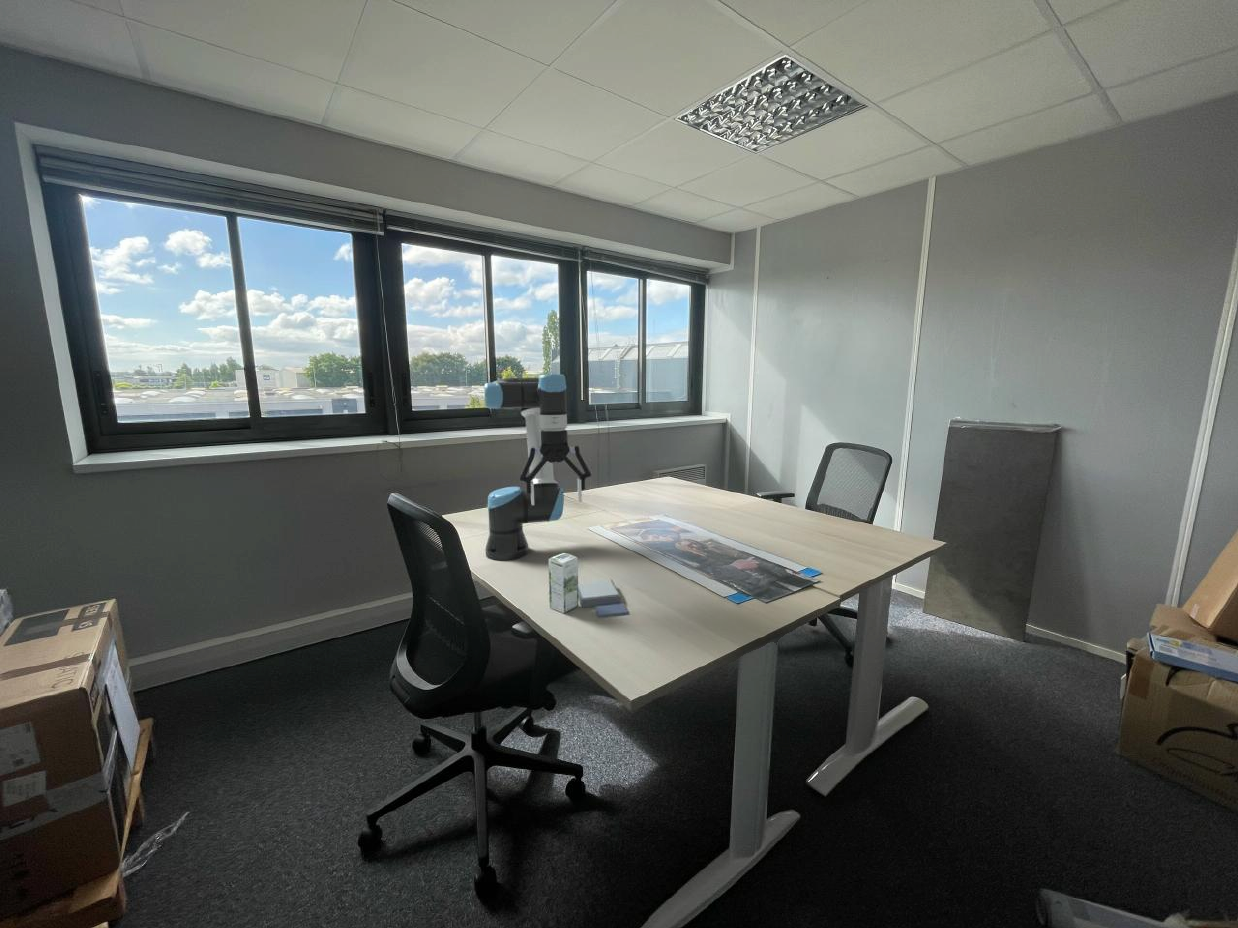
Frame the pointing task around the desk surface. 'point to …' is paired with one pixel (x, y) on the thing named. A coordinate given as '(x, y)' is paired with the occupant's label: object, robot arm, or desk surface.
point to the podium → (598, 593)
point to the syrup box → (563, 582)
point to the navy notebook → (611, 610)
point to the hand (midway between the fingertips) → (556, 502)
